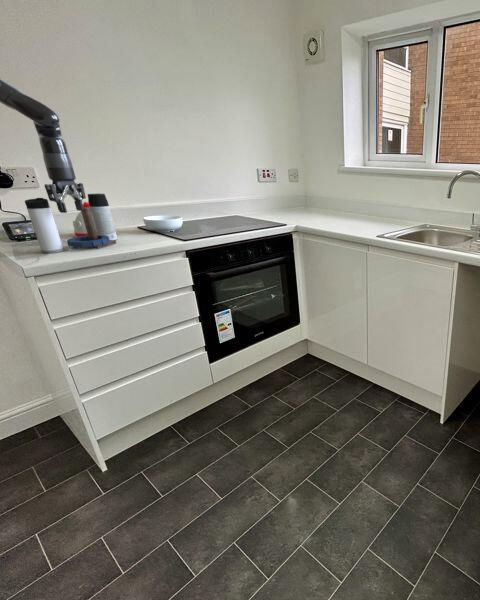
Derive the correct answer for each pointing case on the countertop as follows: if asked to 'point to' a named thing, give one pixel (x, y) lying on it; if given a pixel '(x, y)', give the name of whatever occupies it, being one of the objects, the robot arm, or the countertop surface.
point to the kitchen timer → (80, 223)
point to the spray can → (102, 215)
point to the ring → (87, 241)
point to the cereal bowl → (163, 223)
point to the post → (92, 229)
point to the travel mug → (44, 225)
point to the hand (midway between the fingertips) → (72, 211)
